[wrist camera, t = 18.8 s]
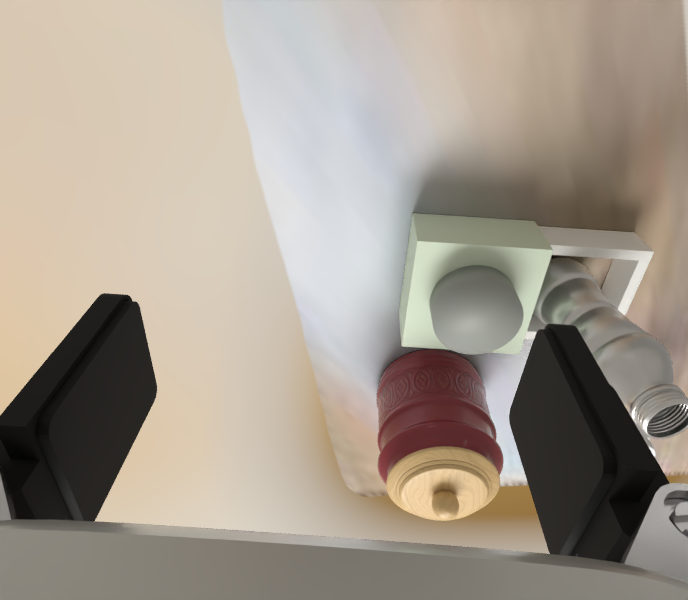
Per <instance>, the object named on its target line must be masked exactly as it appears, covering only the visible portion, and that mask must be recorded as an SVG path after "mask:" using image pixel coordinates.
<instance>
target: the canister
mask: <svg viewBox="0 0 688 600" xmlns="http://www.w3.org/2000/svg"><path fill="white" fill-rule="evenodd" d="M377 407H378V410H379V433H378V447H379V450H380V455H379V458H378V471H379V474H380V476H381V478H382V480H383V482H384V483H385V484H386V486H387V491H388V494H389V496H390V498H391V499H392V500H393V502H394V503H395V504H396V505H398V506H399V507H401V508H402V509H403V510H405V511H407V512H409V513H412V514H415V515H418V516H420V517H423V518H427V519H431V520H454V519H458V518H462V517H465V516H468V515H470V514H472V513H474V512H475V511H477V510H479V509H481V508H483V507H484V506H485V505H487V504H488V503H489V502H490V501H491V500H492V499H493V498H494V497H495V495H496V493H497V492H498V490H499V486H500V477H499V475H500V473H501V471H502V468H503V454H502V451H501V449H500V447H499V445H498V444H497V442H496V429H495V426H494V423H493V421H492V420H491V417H490V413H489V409H488V405H487V402H486V393H485V388H484V385H483V381H482V379H481V377H480V375H479V374H478V373H477V371H476V369H475V368H474V366H473V365H472V364H471V363H470V362H469V361H468V360H466V359H465V358H463V357H461V356H460V355H457V354H455V353H452V352H449V351H444V350H435V349H429V350H420V351H415V352H412V353H409V354H406V355H404V356H402V357H400V358H398V359H397V360H395V361H394V362H392V363H391V364H390V365H389V366H388V367H387V368H386V370H385V371H384V372H383V374H382V376H381V379H380V382H379V385H378V389H377Z"/></svg>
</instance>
